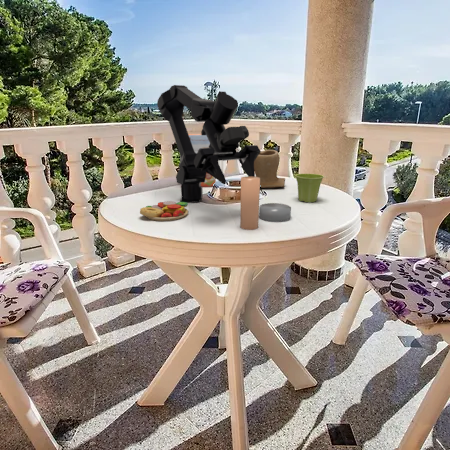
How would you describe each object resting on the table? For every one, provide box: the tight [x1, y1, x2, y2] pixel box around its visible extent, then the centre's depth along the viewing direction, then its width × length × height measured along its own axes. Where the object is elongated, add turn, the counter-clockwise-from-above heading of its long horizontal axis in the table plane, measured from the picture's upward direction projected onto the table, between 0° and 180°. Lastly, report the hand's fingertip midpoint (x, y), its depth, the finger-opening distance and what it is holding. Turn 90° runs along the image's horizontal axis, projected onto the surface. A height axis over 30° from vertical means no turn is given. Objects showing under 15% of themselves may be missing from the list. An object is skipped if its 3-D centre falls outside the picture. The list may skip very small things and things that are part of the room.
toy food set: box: [139, 200, 189, 222], centre depth 97 cm, size 13×13×3 cm
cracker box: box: [179, 133, 217, 188], centre depth 134 cm, size 14×6×21 cm, turn 98°
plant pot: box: [294, 173, 325, 203], centre depth 113 cm, size 9×9×9 cm
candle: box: [239, 175, 261, 231], centre depth 85 cm, size 5×5×13 cm
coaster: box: [259, 202, 292, 223], centre depth 95 cm, size 9×9×3 cm
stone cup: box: [254, 149, 286, 189], centre depth 132 cm, size 15×12×15 cm
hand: (239, 181), depth 87 cm, fingers open, 9 cm apart
